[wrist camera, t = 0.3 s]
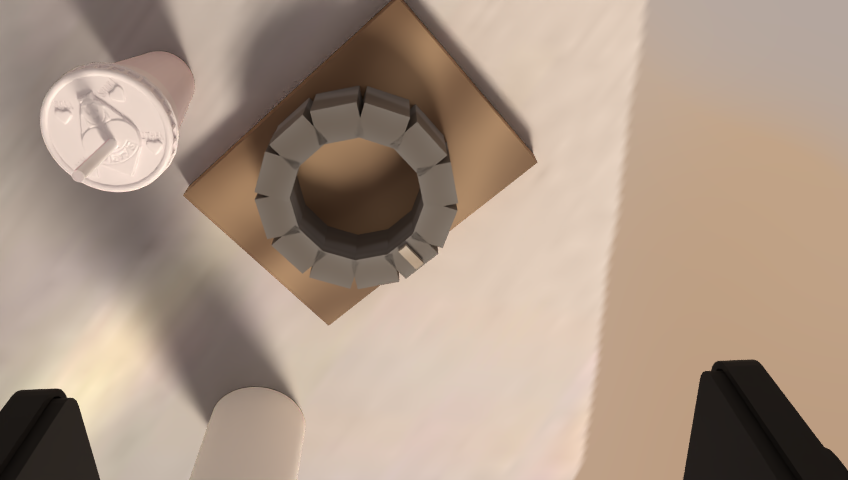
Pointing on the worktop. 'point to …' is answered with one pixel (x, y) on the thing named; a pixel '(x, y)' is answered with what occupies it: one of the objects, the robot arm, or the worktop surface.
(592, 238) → the worktop surface
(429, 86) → the block
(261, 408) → the cylindrical container
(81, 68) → the smoothie
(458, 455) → the worktop surface
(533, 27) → the worktop surface
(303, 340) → the worktop surface
